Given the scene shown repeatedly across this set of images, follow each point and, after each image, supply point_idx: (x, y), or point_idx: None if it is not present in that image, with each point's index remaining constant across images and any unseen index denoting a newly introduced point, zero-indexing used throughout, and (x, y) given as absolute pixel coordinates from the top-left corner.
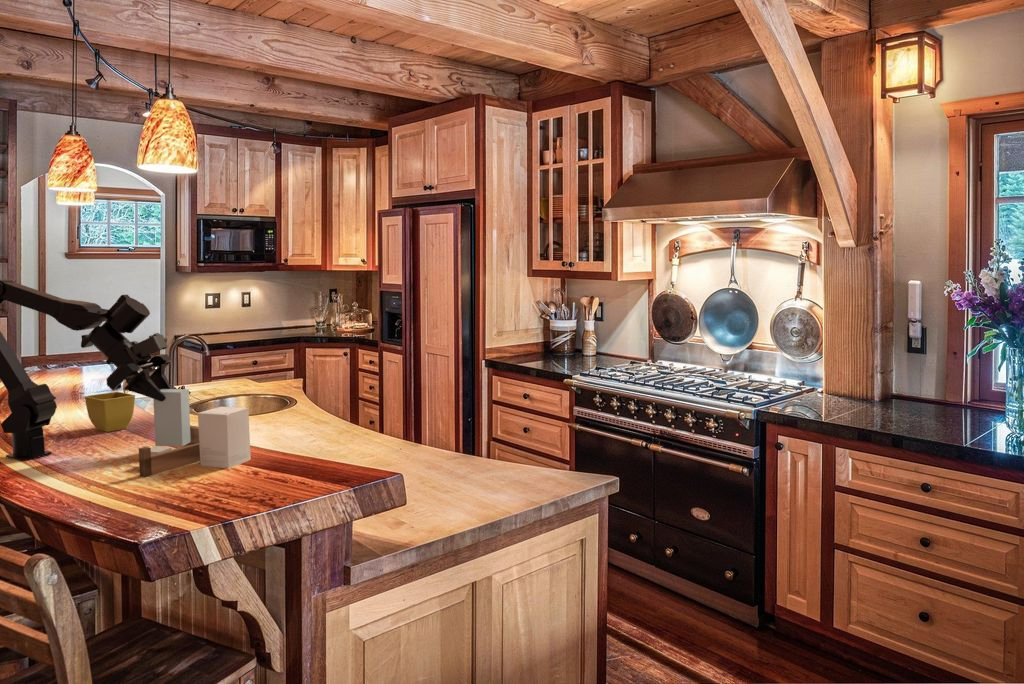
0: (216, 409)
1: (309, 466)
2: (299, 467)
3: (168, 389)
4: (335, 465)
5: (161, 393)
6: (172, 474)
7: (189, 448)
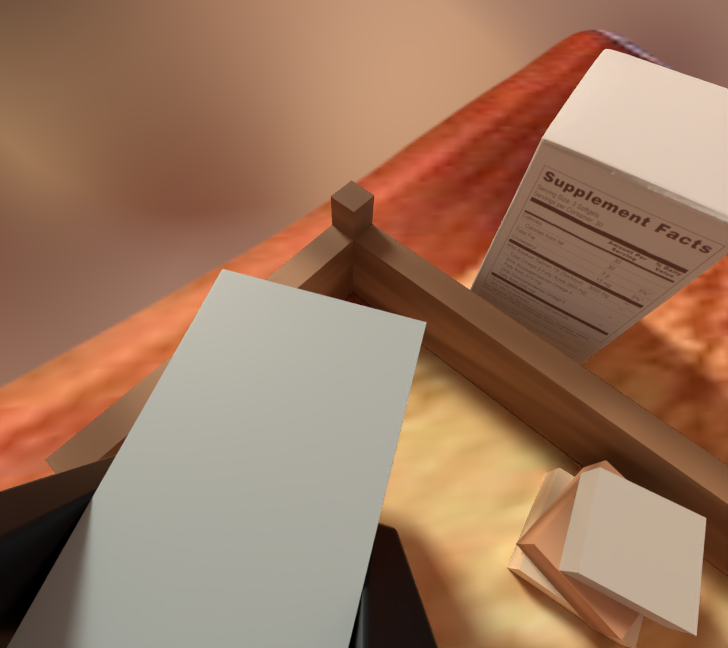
0: (654, 149)
1: (517, 131)
2: (525, 147)
3: (123, 515)
4: (513, 92)
5: (392, 579)
6: None
7: (600, 381)
